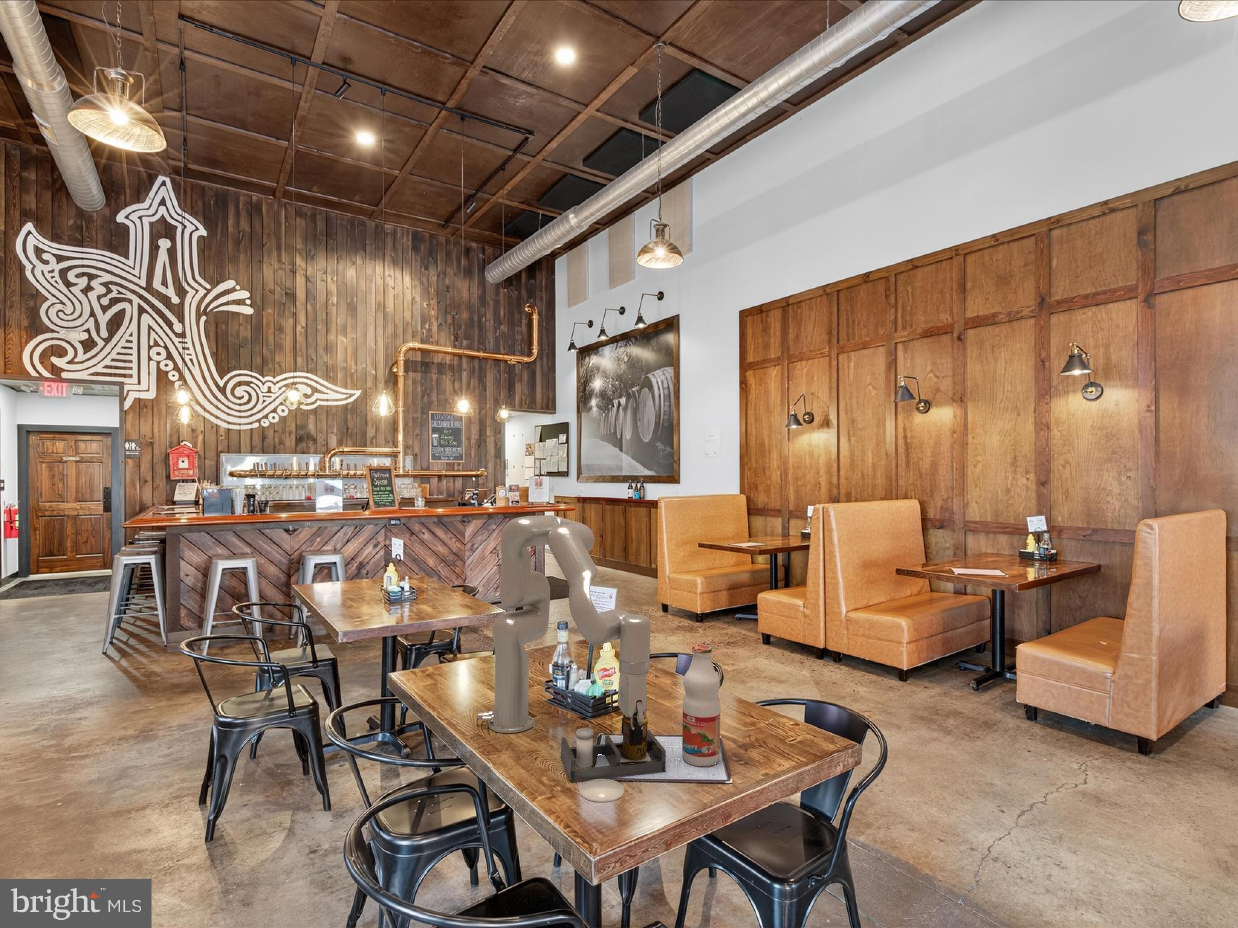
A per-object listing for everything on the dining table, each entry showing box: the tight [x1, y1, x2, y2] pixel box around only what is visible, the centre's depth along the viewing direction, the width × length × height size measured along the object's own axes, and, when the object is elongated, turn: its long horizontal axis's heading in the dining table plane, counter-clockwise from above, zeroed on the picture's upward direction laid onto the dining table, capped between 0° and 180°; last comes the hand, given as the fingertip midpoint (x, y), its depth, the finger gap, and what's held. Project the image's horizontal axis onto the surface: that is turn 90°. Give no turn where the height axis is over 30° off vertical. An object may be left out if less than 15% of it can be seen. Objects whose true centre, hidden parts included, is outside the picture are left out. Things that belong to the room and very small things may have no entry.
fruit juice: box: [681, 644, 721, 767], centre depth 157 cm, size 9×9×28 cm
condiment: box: [618, 708, 652, 763], centre depth 155 cm, size 7×8×12 cm
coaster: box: [579, 778, 625, 803], centre depth 140 cm, size 10×10×1 cm
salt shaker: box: [575, 727, 594, 769], centre depth 153 cm, size 4×4×8 cm
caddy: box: [560, 729, 667, 784], centre depth 153 cm, size 23×13×5 cm, turn 105°
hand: (631, 738), depth 155 cm, fingers closed on condiment, 6 cm apart
